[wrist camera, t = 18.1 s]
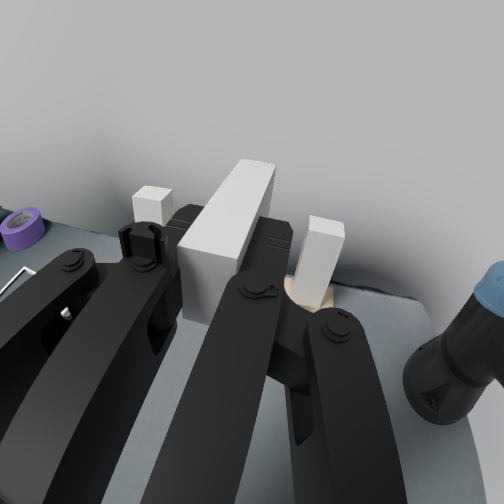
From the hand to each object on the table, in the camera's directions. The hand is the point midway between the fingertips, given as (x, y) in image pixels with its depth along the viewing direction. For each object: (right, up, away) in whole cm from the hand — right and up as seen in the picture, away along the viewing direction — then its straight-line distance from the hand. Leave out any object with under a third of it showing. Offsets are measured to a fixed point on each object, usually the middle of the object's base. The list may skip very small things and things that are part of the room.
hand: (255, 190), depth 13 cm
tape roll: (-55, +1, +42) cm, 69 cm away
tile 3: (-17, -5, +38) cm, 41 cm away
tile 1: (+9, -10, +35) cm, 37 cm away
